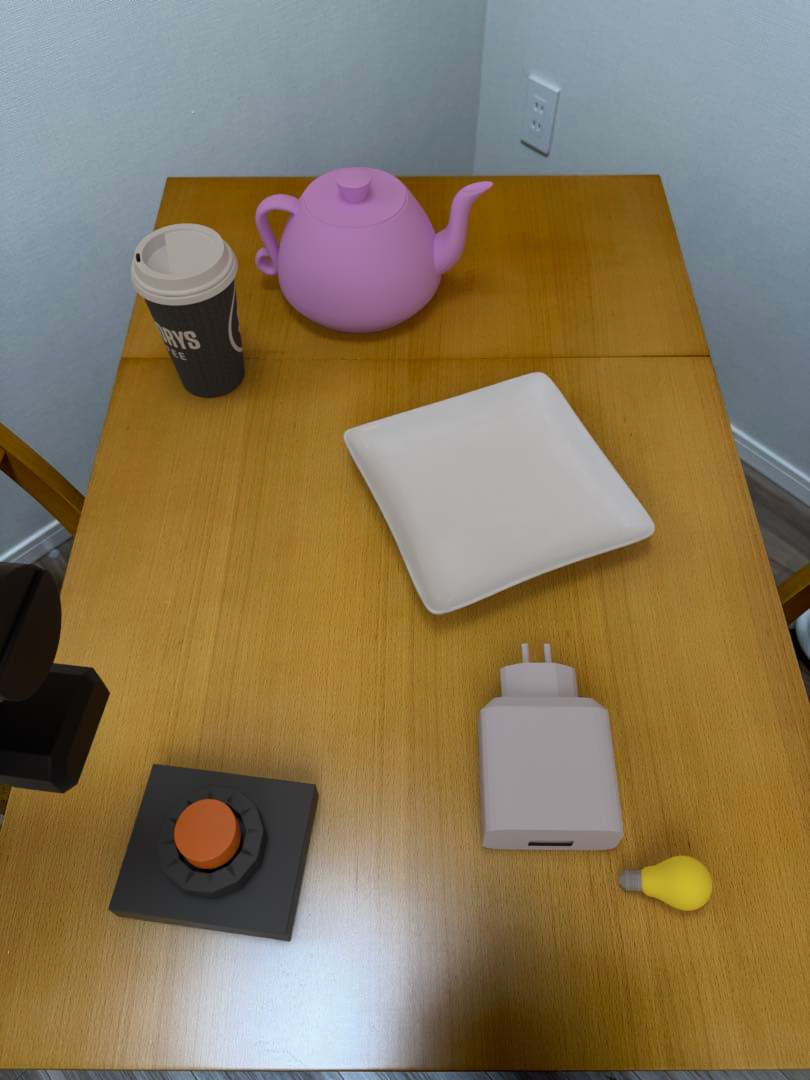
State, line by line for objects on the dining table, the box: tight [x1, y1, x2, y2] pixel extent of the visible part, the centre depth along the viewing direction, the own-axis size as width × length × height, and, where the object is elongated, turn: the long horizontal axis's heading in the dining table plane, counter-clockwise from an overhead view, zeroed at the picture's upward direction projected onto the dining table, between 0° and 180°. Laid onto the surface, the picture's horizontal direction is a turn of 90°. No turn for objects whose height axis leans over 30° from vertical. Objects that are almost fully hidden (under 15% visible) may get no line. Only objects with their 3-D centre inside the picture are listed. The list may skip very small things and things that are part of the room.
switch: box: [174, 799, 241, 869], centre depth 56 cm, size 4×4×2 cm
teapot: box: [254, 166, 494, 334], centre depth 89 cm, size 25×18×14 cm
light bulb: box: [618, 854, 714, 912], centre depth 57 cm, size 3×6×4 cm, turn 84°
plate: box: [342, 371, 656, 616], centre depth 76 cm, size 21×21×3 cm
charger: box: [477, 642, 625, 851], centre depth 62 cm, size 5×9×15 cm
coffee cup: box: [130, 222, 246, 399], centre depth 81 cm, size 10×10×15 cm
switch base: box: [107, 763, 320, 942], centre depth 59 cm, size 12×10×4 cm
